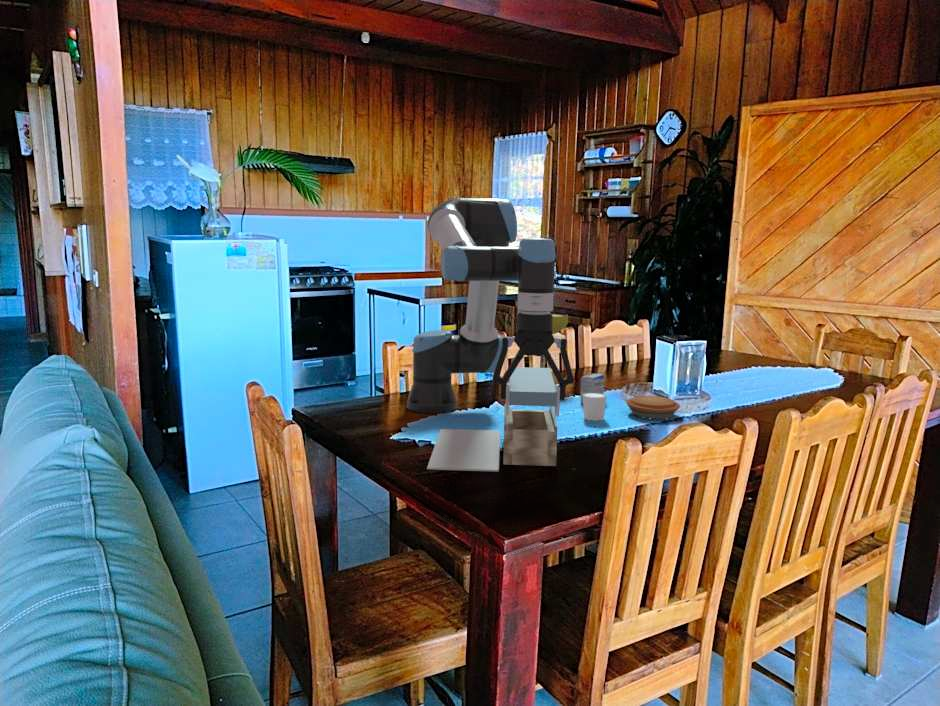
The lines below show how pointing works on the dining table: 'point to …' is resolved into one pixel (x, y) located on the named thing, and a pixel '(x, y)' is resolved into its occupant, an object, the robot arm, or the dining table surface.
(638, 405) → the pie
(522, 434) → the wooden box
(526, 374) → the pale grey block
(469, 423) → the dining table surface
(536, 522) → the dining table surface
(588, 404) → the white cup
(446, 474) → the dining table surface
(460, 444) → the mat
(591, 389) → the medicine box
